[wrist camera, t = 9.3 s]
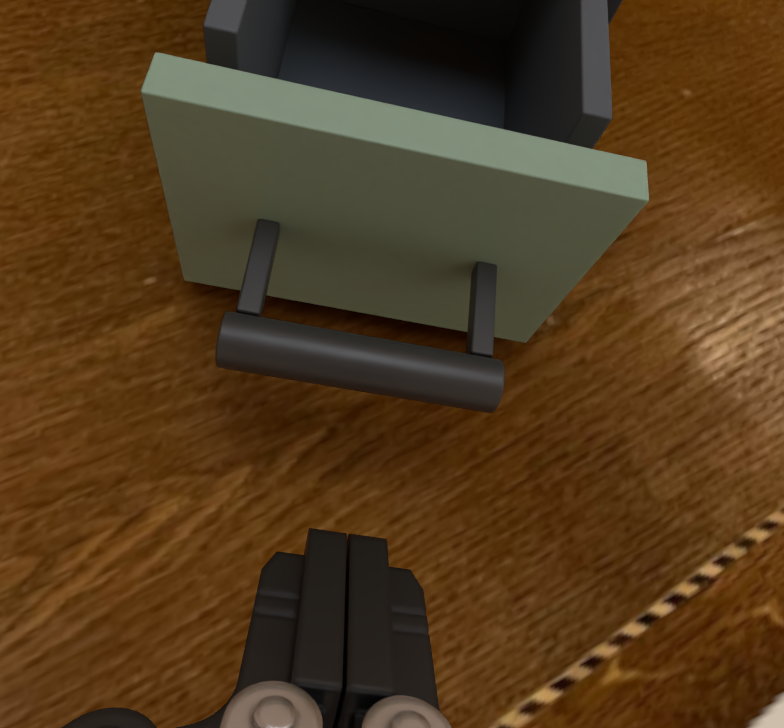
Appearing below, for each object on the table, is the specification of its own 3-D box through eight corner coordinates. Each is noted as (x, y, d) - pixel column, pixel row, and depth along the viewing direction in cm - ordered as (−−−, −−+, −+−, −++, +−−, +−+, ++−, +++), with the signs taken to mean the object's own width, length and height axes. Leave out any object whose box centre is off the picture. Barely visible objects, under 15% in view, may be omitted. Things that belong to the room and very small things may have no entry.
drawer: (522, 463, 20) (661, 367, 13) (148, 403, 19) (77, 261, 12) (533, 59, 27) (625, -143, 20) (263, -5, 26) (263, -246, 19)
